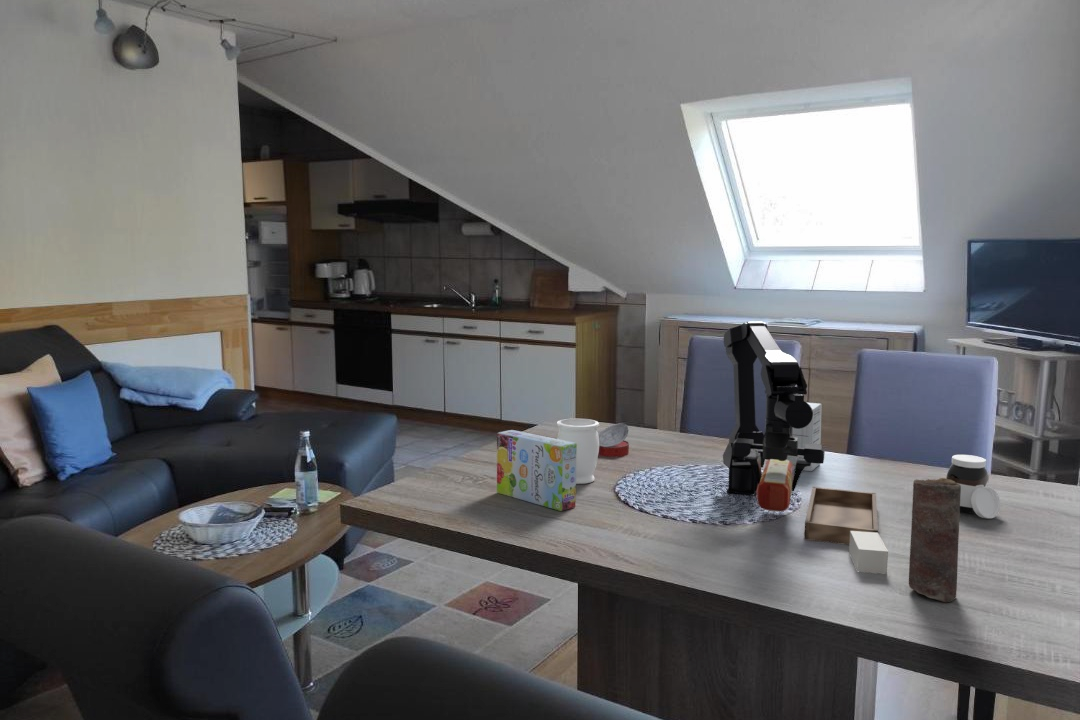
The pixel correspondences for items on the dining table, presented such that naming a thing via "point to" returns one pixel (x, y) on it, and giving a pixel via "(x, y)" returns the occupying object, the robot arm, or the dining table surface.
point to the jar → (582, 445)
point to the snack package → (775, 485)
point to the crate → (839, 514)
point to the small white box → (868, 552)
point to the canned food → (614, 441)
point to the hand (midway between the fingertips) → (776, 489)
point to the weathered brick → (935, 538)
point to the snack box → (537, 469)
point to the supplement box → (809, 434)
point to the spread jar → (974, 486)
